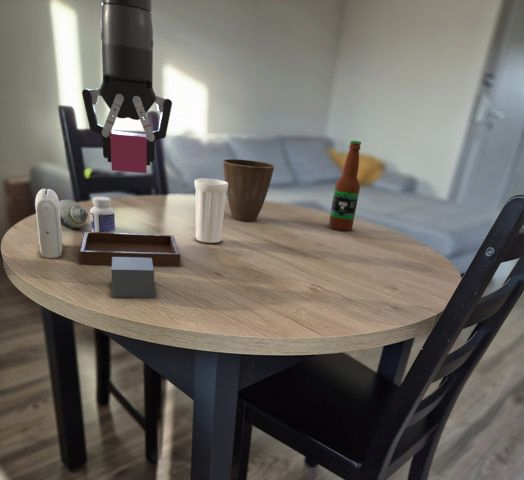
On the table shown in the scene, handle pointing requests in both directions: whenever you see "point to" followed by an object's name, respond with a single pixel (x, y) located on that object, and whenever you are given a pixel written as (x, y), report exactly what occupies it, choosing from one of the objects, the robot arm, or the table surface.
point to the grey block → (132, 277)
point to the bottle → (346, 192)
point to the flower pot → (246, 187)
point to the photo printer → (48, 223)
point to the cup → (210, 209)
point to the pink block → (128, 152)
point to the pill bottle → (102, 215)
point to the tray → (128, 248)
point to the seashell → (72, 214)
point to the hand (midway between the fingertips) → (128, 162)
